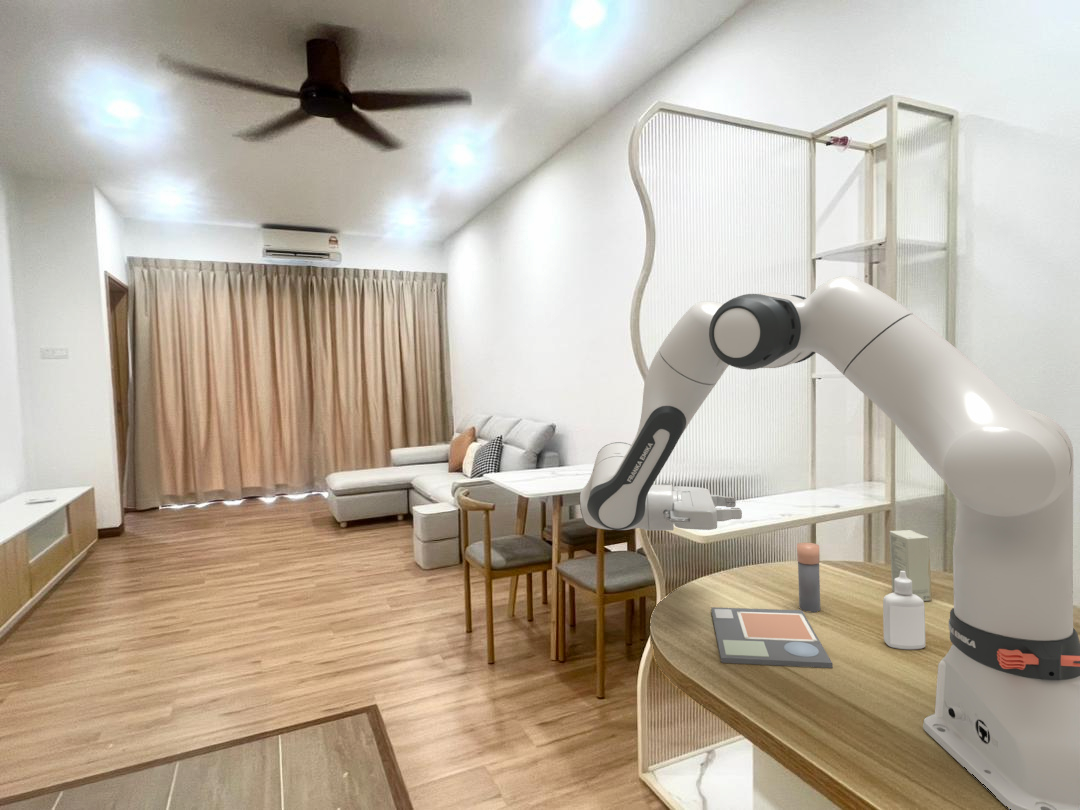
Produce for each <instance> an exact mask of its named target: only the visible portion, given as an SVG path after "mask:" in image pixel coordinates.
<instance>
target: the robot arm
mask: <svg viewBox="0 0 1080 810" xmlns="http://www.w3.org/2000/svg"><path fill="white" fill-rule="evenodd" d="M665 337H666V338H664V340H663V342H662V344H661V345H660V347H659V348H658V349H657V352H655V356H654V357H653V359H652V361H651V363H650V366H649V367H648V368H649V369H648V371H647V374H646V377H645V380H644V384H643V392H642V395H643V396H642V406H641V413H640V418H639V419H640V420H639V426H638V429H637V432H636V435H635V438H634V439H633V441H632V443H631V444H630V443H627V442H621V441H620V442H619V441H618V442H610V443H609V444H606V445H604V446H603V447H602V448H601V449H599V451H598V453H597V454H596V457H595V461H594V465H593V468H592V471H591V475H590V477H589V480H588V481H587V483H586V484H585V486H584V487H583V488H582V489H581V491H580V492H579V493H580V494H579V507H580V514H581V517H582V519H583V521H584V522H585V524H586V525H588V526H590V527H592V528H595V529H601V530H611V531H612V530H613V531H627V530H632V529H642V530H645V531H674V526H675V527H676V528H679V529H684V530H698V531H699V530H700V531H701V530H702V531H710V530H712V531H713V530H716V529H718V522H726V521H732V520H741V519H742V518H743V515H742V514H743V511H742V510H741V508H740V507H736V506H737V505H736V503H737V502H736V501H737V500H736V498H735V497H734V496H724V495H717V494H711V492H710V489H708V488H705V487H698V486H687V485H686V486H685V485H682V486H681V485H677V486H676V485H675V486H674V485H673V484H672V483H670V482H669V483H668V482H666V483H661V484H654V483H655V481H656V480H657V478H658V476H659V475H660V473H661V471H662V470H663V468H664V466H665V465H666V462H667V461H668V459H669V458H670V456H671V454H672V453H673V452H674V449H675V447H676V445H678V444H677V443H678V442H679V440H680V438H681V437H682V435H683V433H684V432H685V431H686V429H687V428H688V426H689V424H690V422H691V421H692V419H693V418H694V416H696V414H697V412H698V410H699V409H700V408H701V407H702V404H703V403H704V402H705V400H706V398H708V396H709V395H710V393H711V392H712V391H713V389H714V388H715V386H716V385H717V383H718V382H719V380H720V379H721V378H722V376H723V375H724V373H725V371H726V370H727V369H728V367H729V366H730V367H734V368H737V369H740V370H750V371H751V370H758V369H777V368H782V367H786V366H789V365H790V366H791V365H792V364H798V363H801V362H803V361H806V360H808V359H809V358H811V357H813V356H814V355H816V354H818V355H820V356H821V357H823V358H824V359H826V360H827V361H828V362H829V363H830V364H832V366H833V367H835V368H836V369H837V371H839V373H840V374H842V375H843V376H844V377H845V378H846V379H848V381H850V383H852V384H853V385H854V386H855V387H856V388H857V389H858V390H859V391H860V392H861V393H862V394H864V396H865V397H867V398H868V399H869V400H870V401H871V402H872V403H874V405H876V406H877V408H879V409H880V410H881V411H882V412H883V413H884V414H885V415H886V416H887V417H888V418H889V419H890V420H891V421H892V422H893V424H894V425H896V427H897V428H898V429H899V430H900V432H901V433H902V434H903V435H904V437H906V439H907V441H908V442H910V444H911V446H912V447H913V448H914V449H915V450H916V451H917V453H918V454H919V455H920V456H921V457H922V458H923V459H924V461H926V462H927V464H928V465H929V466H930V468H931V469H933V471H934V472H935V473H936V474H937V476H939V477H940V478H941V479H942V480H943V482H945V484H946V486H947V487H948V489H949V491H951V493H952V494H953V495H954V496H955V498H957V508H956V509H957V510H956V519H955V520H956V521H955V531H954V539H953V547H952V563H953V564H952V568H953V570H952V573H953V574H952V575H953V577H952V578H953V581H952V583H953V607H952V608H951V610H950V612H949V619H948V629H949V640H950V642H951V643H952V645H951V647H950V648H949V651H948V652H947V654H946V655H945V656H944V657H942V659H941V660H940V662H938V666H937V676H936V678H937V679H936V688H935V689H936V692H935V705H934V706H935V707H934V713H932V714H930V715H928V716H926V717H925V718H924V720H923V725H922V728H923V730H924V731H925V732H926V733H927V734H928V735H929V736H930V737H931V738H932V739H934V740H935V742H936V743H938V744H939V745H940V746H941V747H942V748H943V749H944V750H945V751H946V752H947V753H948V754H949V755H950V756H952V758H954V759H955V760H956V762H958V763H959V764H960V765H961V766H962V767H963V768H964V767H965V768H966V769H967V770H966V769H965V768H964V769H965V770H966V771H968V773H970V774H971V775H972V774H973V775H974V776H975V777H976V778H977V779H978V780H979V781H980V782H981V783H982V784H984V785H985V786H986V787H987V788H988V789H989V790H990V791H991V792H992V793H993V794H994V795H995V796H996V797H995V796H994V795H993V794H992V793H991V792H990V791H989V790H988V789H987V788H986V787H985V786H984V785H983V786H984V787H985V788H986V789H987V790H988V791H989V792H990V793H991V794H992V795H993V796H994V797H995V798H996V799H998V800H999V801H1000V803H1002V804H1003V805H1004V806H1005V807H1006V806H1007V807H1009V808H1008V810H1010V809H1011V810H1080V637H1079V633H1078V632H1077V630H1076V629H1075V627H1074V593H1073V592H1074V591H1073V589H1074V588H1073V585H1074V584H1073V583H1074V582H1073V581H1074V577H1073V576H1074V574H1073V573H1074V572H1073V571H1074V570H1073V569H1074V567H1073V566H1074V565H1073V563H1074V558H1073V557H1074V555H1073V554H1074V552H1073V551H1074V550H1073V549H1074V548H1073V547H1074V448H1073V444H1072V440H1071V438H1070V436H1069V434H1068V433H1067V431H1065V429H1064V428H1063V427H1062V426H1061V425H1060V424H1059V423H1058V422H1057V421H1055V420H1054V419H1053V418H1051V417H1049V416H1047V415H1046V414H1044V413H1041V412H1039V411H1036V410H1032V409H1027V408H1023V407H1021V406H1020V405H1019V404H1018V403H1017V402H1015V400H1013V399H1012V398H1011V397H1010V396H1009V395H1008V394H1007V393H1005V392H1004V390H1002V389H1001V388H1000V387H999V386H998V385H997V384H995V382H993V380H992V379H990V378H989V377H988V375H986V374H985V373H984V372H983V371H982V370H981V369H980V368H978V367H977V366H976V365H975V364H974V363H973V362H972V361H971V360H970V358H969V357H968V356H966V355H965V354H964V353H963V352H961V351H960V350H959V349H958V348H957V347H955V346H954V345H953V344H951V343H950V342H949V341H948V340H947V339H946V338H944V337H943V335H942V336H941V335H940V334H939V333H938V332H937V331H936V330H934V328H932V327H931V326H929V325H928V324H927V323H925V322H924V321H923V320H922V319H921V318H919V317H918V316H917V315H916V314H914V312H912V311H910V310H909V309H908V308H907V307H906V306H904V305H903V304H902V303H901V302H899V301H897V300H896V299H894V298H892V297H891V296H889V295H888V294H887V293H885V292H883V291H882V290H880V289H878V288H876V287H875V286H873V285H872V284H869V283H867V282H865V281H863V280H861V279H859V278H857V277H855V276H850V275H849V276H848V275H842V276H837V277H834V278H832V279H829V280H827V281H825V282H824V283H822V284H821V285H819V286H818V287H817V288H816V289H814V291H813V292H812V293H811V294H809V296H807V297H805V296H802V295H799V294H798V295H796V294H785V293H778V292H761V293H746V294H742V295H739V296H736V297H733V298H730V300H728V301H726V302H725V303H721V302H717V301H712V300H703V301H699V302H696V303H695V304H693V305H692V306H691V307H690V308H689V309H688V310H687V311H685V313H684V314H683V316H682V317H680V319H679V320H678V321H677V322H676V324H674V326H673V327H672V329H671V330H670V332H669V333H668V334H667V336H665ZM717 507H721V508H717ZM722 507H725V508H722ZM973 775H972V776H973ZM974 776H973V777H974ZM975 777H974V778H975ZM976 778H975V779H976ZM977 779H976V780H977ZM978 780H977V781H978ZM979 781H978V782H979ZM980 782H979V783H980ZM981 783H980V784H981ZM982 784H981V785H982ZM1007 807H1006V808H1007Z"/></svg>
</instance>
